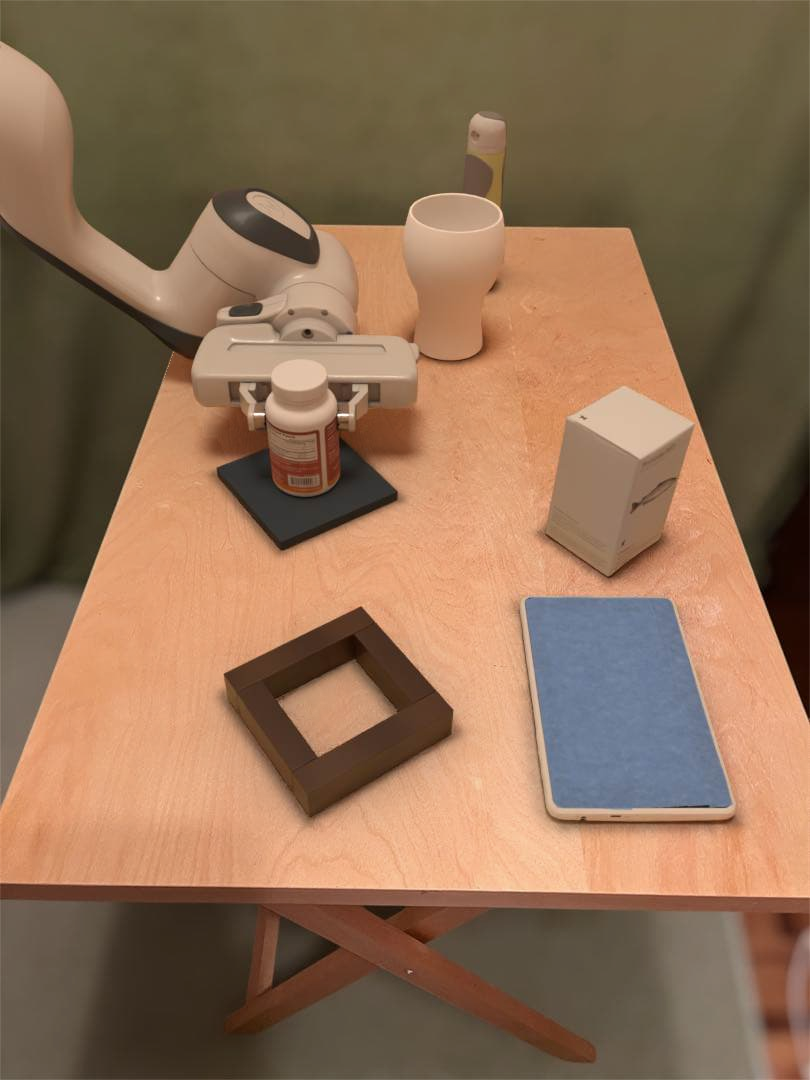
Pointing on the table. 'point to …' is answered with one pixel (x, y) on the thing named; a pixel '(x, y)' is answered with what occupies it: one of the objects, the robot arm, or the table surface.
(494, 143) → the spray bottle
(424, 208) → the cup
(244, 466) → the coaster
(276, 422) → the pill bottle
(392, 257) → the table surface
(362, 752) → the holder
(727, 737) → the table surface
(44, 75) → the robot arm
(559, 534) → the white packaging box
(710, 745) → the tablet
